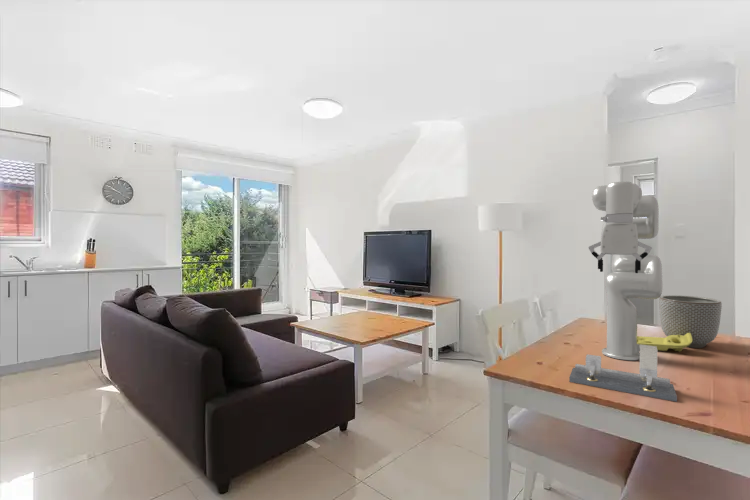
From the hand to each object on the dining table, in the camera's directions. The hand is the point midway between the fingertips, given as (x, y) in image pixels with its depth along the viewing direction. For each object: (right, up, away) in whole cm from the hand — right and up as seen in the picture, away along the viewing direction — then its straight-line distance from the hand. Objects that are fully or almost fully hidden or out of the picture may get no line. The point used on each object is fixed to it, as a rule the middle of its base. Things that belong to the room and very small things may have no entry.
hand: (618, 272), depth 122 cm
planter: (+49, -32, +31) cm, 67 cm away
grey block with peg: (0, -32, -14) cm, 35 cm away
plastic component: (+33, -33, +26) cm, 54 cm away
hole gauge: (-6, -34, -10) cm, 36 cm away
